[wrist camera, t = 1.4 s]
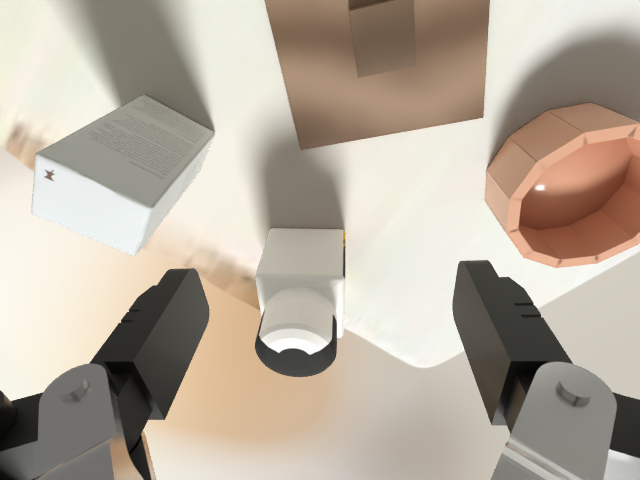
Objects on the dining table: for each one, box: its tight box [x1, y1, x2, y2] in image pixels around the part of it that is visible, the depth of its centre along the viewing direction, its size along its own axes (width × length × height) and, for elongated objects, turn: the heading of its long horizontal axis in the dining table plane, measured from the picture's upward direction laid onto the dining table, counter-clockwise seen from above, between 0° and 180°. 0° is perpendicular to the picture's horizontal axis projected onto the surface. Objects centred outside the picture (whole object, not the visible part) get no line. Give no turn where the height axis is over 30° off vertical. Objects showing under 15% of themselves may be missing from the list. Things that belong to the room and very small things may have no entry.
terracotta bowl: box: [485, 103, 640, 268], centre depth 27 cm, size 11×11×5 cm
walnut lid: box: [265, 0, 490, 150], centre depth 22 cm, size 14×14×5 cm
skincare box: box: [32, 95, 215, 256], centre depth 24 cm, size 6×4×12 cm
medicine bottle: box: [255, 228, 345, 377], centre depth 31 cm, size 7×7×12 cm
